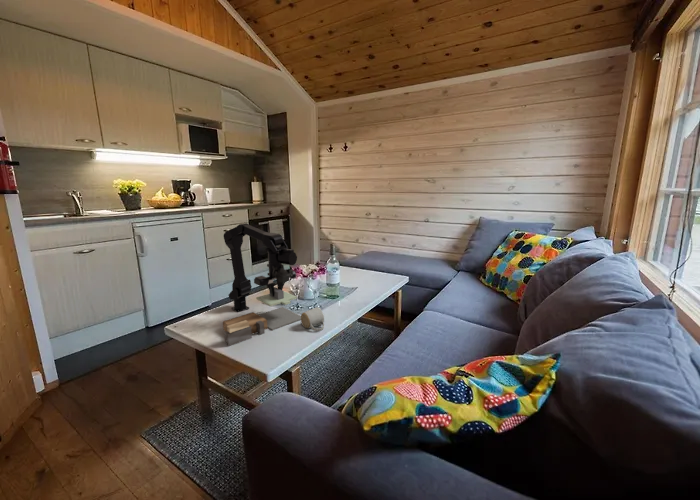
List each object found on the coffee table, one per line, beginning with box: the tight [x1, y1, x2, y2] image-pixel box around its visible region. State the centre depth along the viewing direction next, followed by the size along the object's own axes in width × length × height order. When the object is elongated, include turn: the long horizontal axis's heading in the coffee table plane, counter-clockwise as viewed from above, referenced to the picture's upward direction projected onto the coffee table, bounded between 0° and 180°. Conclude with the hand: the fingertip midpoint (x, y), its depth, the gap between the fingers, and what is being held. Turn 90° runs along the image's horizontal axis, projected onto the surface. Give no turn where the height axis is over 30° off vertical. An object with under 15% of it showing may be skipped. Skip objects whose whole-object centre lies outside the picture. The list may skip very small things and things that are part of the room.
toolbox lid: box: [255, 286, 298, 307], centre depth 145 cm, size 15×14×4 cm
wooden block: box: [227, 320, 249, 333], centre depth 126 cm, size 2×8×2 cm, turn 135°
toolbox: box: [222, 311, 268, 347], centre depth 134 cm, size 15×18×5 cm
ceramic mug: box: [300, 306, 325, 332], centre depth 138 cm, size 11×8×8 cm
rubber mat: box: [258, 306, 301, 331], centre depth 148 cm, size 18×17×1 cm
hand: (276, 295), depth 146 cm, fingers closed on toolbox lid, 3 cm apart
